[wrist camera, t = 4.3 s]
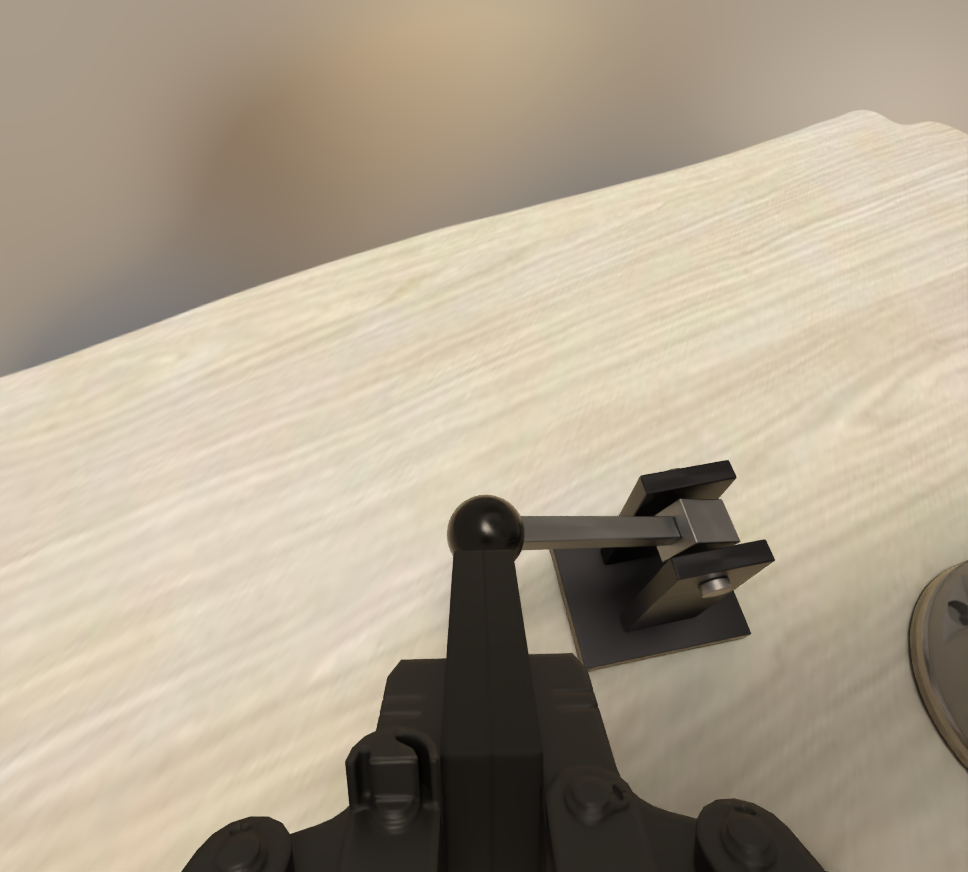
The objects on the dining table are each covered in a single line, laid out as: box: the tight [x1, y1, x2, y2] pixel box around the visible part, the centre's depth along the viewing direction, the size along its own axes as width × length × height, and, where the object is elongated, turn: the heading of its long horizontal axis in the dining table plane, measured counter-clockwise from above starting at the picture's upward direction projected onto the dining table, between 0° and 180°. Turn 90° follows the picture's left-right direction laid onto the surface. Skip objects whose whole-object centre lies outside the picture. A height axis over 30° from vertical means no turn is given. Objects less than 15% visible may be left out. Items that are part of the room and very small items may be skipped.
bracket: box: [550, 460, 775, 671], centre depth 31 cm, size 10×8×12 cm
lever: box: [447, 495, 740, 562], centre depth 25 cm, size 14×3×3 cm, turn 101°
